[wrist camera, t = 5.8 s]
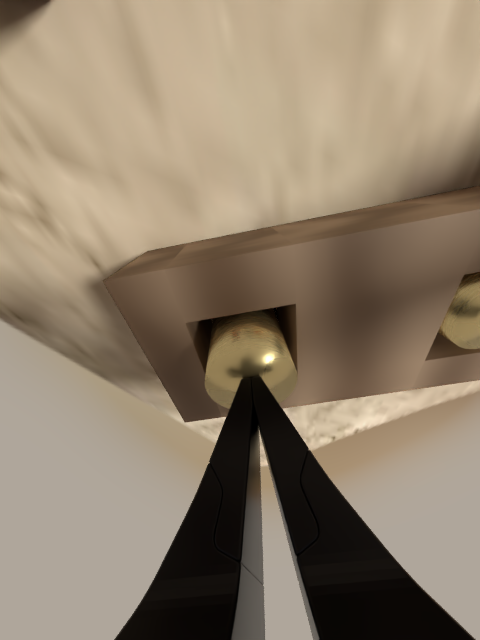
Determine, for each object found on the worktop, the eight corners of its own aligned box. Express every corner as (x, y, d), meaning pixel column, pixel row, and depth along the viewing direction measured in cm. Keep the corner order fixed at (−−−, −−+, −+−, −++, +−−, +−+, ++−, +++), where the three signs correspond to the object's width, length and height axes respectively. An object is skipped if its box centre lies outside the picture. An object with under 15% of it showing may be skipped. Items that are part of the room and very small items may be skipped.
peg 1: (272, 287, 12) (296, 340, 7) (277, 340, 14) (298, 404, 9) (206, 299, 12) (192, 357, 8) (221, 349, 14) (217, 416, 10)
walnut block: (535, 174, 11) (737, 160, 6) (458, 324, 16) (541, 371, 12) (147, 251, 12) (102, 281, 8) (196, 366, 17) (185, 422, 13)
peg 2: (457, 243, 12) (577, 267, 8) (435, 299, 14) (520, 342, 10) (392, 255, 13) (475, 284, 8) (379, 308, 15) (440, 354, 10)
